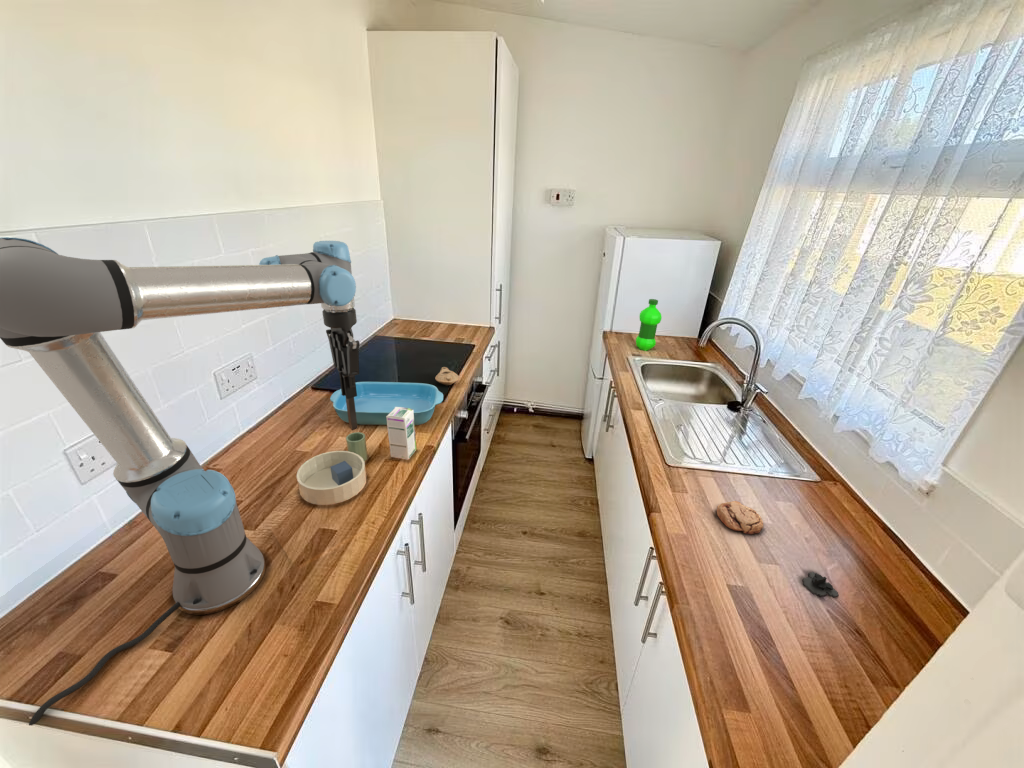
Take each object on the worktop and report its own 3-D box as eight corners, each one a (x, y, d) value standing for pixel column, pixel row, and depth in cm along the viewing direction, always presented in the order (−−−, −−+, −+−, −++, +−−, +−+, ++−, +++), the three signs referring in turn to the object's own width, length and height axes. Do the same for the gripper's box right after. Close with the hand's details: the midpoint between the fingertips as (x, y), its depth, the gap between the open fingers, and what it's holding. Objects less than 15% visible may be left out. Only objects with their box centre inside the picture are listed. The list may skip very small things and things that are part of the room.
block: (339, 486, 111) (337, 473, 110) (332, 479, 114) (330, 466, 112) (353, 479, 114) (352, 467, 112) (346, 472, 117) (344, 460, 115)
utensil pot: (354, 468, 120) (351, 444, 116) (346, 460, 123) (342, 436, 119) (371, 461, 123) (368, 437, 120) (362, 453, 126) (359, 430, 123)
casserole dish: (445, 399, 159) (445, 381, 156) (441, 431, 139) (440, 412, 136) (343, 397, 156) (341, 380, 153) (323, 430, 136) (320, 410, 133)
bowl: (316, 517, 102) (313, 499, 100) (290, 484, 112) (286, 467, 110) (378, 487, 113) (376, 470, 111) (348, 459, 123) (346, 443, 121)
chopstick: (352, 430, 117) (344, 370, 109) (349, 428, 118) (341, 368, 110) (357, 428, 118) (350, 368, 110) (354, 426, 119) (347, 366, 111)
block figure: (799, 569, 92) (819, 564, 94) (795, 577, 93) (815, 572, 95) (825, 593, 87) (845, 587, 89) (820, 601, 88) (841, 595, 90)
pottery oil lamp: (454, 373, 179) (460, 361, 174) (454, 394, 170) (460, 382, 166) (433, 367, 175) (439, 355, 171) (432, 388, 167) (439, 376, 163)
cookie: (764, 540, 103) (768, 530, 101) (717, 527, 106) (720, 517, 105) (758, 513, 111) (762, 504, 110) (714, 501, 114) (717, 493, 113)
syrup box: (409, 462, 123) (406, 418, 117) (389, 458, 124) (385, 415, 118) (416, 451, 129) (414, 408, 122) (398, 448, 130) (395, 405, 123)
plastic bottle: (630, 345, 222) (639, 297, 211) (650, 345, 223) (659, 297, 212) (637, 352, 213) (647, 302, 202) (658, 352, 214) (668, 303, 203)
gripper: (368, 313, 102) (376, 401, 112) (339, 299, 111) (349, 382, 121) (337, 318, 97) (349, 410, 107) (310, 304, 106) (323, 390, 116)
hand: (349, 395), depth 114 cm, fingers closed on chopstick, 2 cm apart
